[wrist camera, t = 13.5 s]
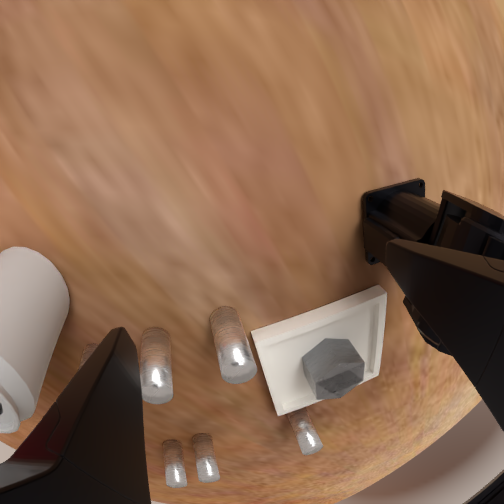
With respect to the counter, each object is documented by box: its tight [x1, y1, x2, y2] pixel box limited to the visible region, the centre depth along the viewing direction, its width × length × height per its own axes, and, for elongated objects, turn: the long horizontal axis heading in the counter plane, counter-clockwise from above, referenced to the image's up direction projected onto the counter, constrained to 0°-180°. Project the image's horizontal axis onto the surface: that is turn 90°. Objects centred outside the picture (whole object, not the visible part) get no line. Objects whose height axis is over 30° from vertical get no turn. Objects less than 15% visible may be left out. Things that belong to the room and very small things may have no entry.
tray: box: [251, 284, 387, 416], centre depth 28 cm, size 13×13×2 cm
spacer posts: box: [78, 306, 323, 488], centre depth 25 cm, size 18×20×6 cm
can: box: [0, 247, 70, 433], centre depth 14 cm, size 8×8×12 cm
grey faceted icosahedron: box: [302, 338, 365, 400], centre depth 27 cm, size 5×6×4 cm
